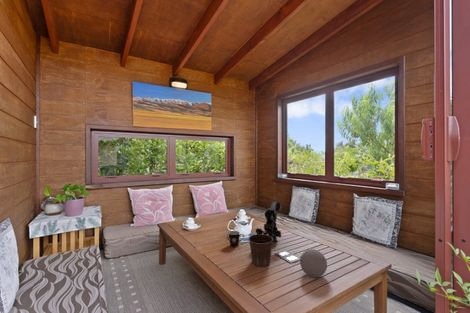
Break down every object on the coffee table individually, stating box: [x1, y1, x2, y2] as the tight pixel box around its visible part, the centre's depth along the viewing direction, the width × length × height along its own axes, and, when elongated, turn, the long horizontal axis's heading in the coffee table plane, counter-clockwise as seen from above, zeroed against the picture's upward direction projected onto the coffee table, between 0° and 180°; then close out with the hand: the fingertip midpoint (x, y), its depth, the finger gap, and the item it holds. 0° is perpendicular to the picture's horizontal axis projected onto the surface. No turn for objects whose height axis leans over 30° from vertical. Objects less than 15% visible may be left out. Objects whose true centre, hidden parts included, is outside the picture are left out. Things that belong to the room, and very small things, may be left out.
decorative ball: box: [299, 248, 328, 278], centre depth 135 cm, size 15×15×15 cm
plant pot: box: [248, 233, 273, 268], centre depth 152 cm, size 16×16×16 cm
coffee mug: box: [228, 230, 245, 248], centre depth 180 cm, size 12×9×10 cm
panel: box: [274, 249, 301, 264], centre depth 159 cm, size 10×16×1 cm, turn 30°
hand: (266, 243), depth 168 cm, fingers closed
